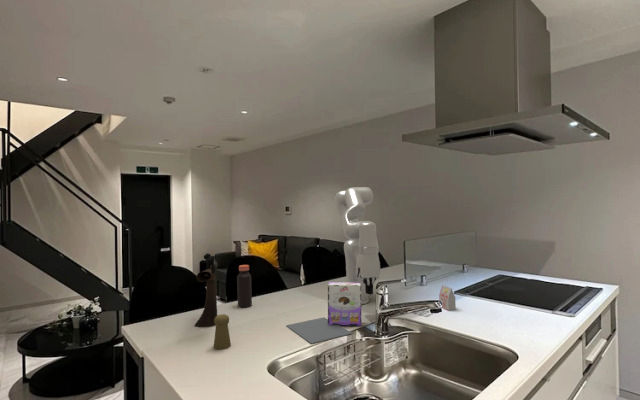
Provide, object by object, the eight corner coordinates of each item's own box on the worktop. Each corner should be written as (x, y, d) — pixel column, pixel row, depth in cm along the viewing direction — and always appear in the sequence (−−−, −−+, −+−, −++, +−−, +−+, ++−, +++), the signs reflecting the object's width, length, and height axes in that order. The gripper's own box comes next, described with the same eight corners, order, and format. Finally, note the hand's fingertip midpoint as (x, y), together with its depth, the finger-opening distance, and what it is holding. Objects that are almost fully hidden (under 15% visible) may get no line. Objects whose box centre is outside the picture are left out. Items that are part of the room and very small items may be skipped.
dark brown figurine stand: (214, 336, 135) (212, 258, 135) (187, 339, 133) (186, 259, 133) (221, 312, 166) (220, 248, 166) (200, 313, 164) (198, 249, 164)
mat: (323, 318, 153) (323, 317, 153) (352, 333, 134) (352, 332, 134) (286, 326, 144) (286, 325, 144) (311, 344, 125) (311, 343, 125)
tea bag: (446, 306, 166) (445, 284, 166) (455, 310, 160) (455, 288, 160) (439, 306, 165) (439, 285, 165) (448, 311, 159) (447, 288, 159)
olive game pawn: (215, 343, 128) (214, 313, 129) (232, 342, 129) (231, 312, 129) (211, 350, 122) (211, 318, 123) (229, 349, 123) (228, 317, 123)
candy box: (361, 321, 148) (361, 282, 148) (361, 326, 142) (361, 285, 142) (328, 320, 149) (328, 281, 150) (327, 324, 143) (327, 284, 144)
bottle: (239, 308, 170) (238, 267, 170) (236, 305, 176) (235, 265, 176) (253, 306, 173) (252, 266, 174) (249, 303, 179) (248, 264, 180)
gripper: (376, 248, 159) (377, 289, 158) (348, 251, 152) (350, 294, 151) (387, 250, 152) (388, 293, 152) (359, 253, 145) (360, 298, 144)
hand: (369, 293), depth 151 cm, fingers closed
